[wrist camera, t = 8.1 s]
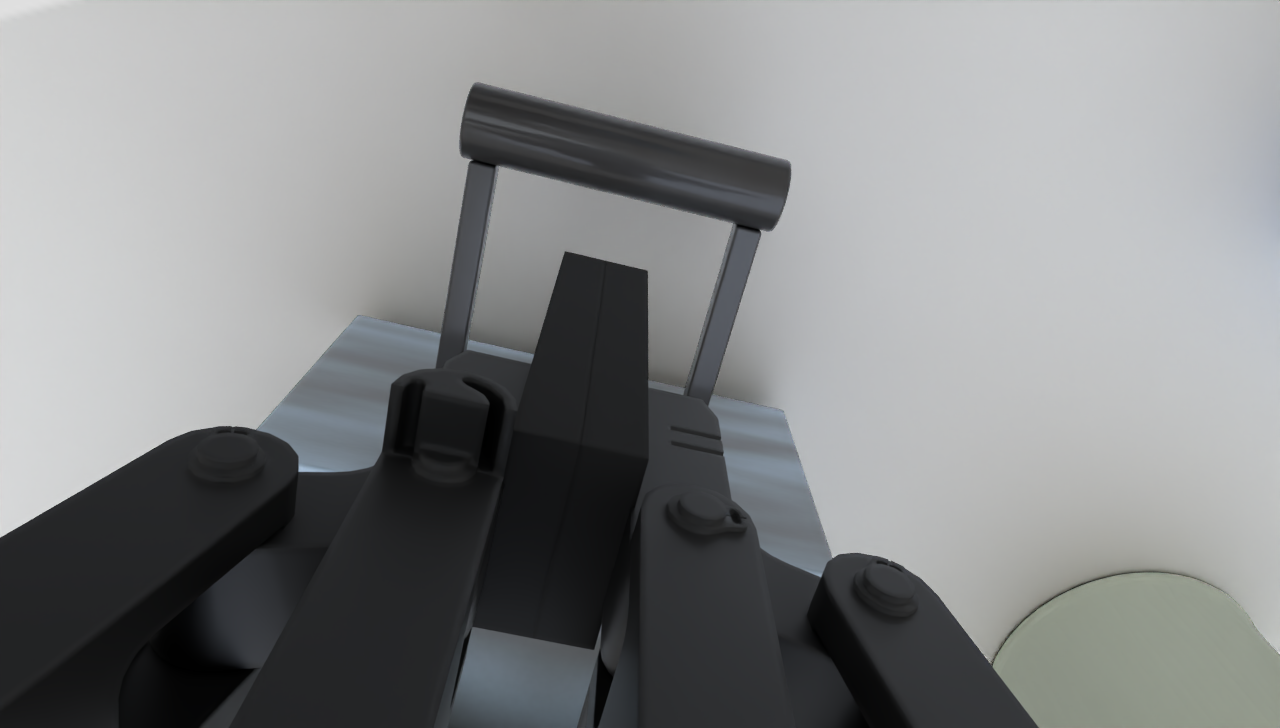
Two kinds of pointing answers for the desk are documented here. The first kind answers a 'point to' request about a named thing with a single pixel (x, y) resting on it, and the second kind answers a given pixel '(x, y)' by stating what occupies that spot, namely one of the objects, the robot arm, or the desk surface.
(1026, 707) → the can
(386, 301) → the desk surface
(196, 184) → the desk surface
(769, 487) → the drawer
